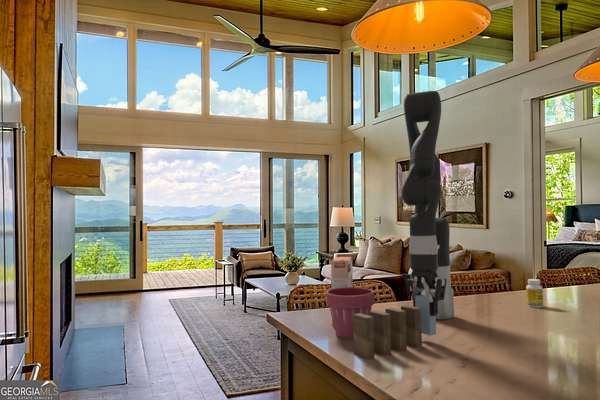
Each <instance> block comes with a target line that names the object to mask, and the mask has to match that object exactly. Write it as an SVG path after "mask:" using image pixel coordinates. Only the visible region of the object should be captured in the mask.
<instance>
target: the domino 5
mask: <svg viewBox="0 0 600 400" xmlns="http://www.w3.org/2000/svg"><path fill="white" fill-rule="evenodd" d="M429 302H430V300H429V297H428V296H425V295H423V294H421V295H416V296H415V307H417V308H421V331H422V335H427V336H435V335H437V321H436V320H437V319H436V316H430V307H429Z"/></svg>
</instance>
